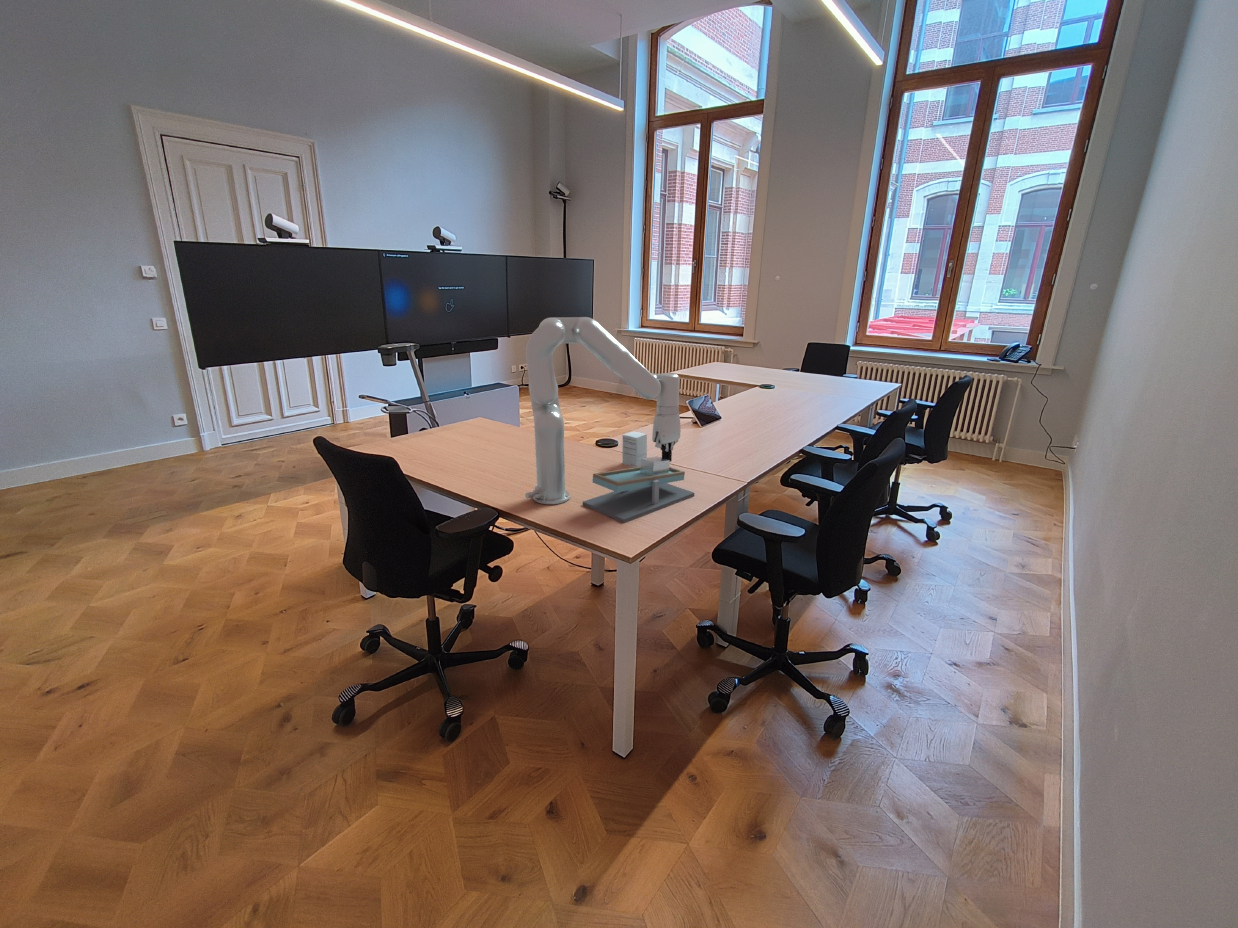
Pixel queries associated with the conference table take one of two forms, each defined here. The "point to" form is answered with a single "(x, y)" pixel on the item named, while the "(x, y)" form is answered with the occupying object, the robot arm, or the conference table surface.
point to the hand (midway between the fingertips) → (666, 461)
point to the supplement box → (634, 448)
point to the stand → (637, 501)
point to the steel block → (654, 466)
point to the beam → (634, 479)
